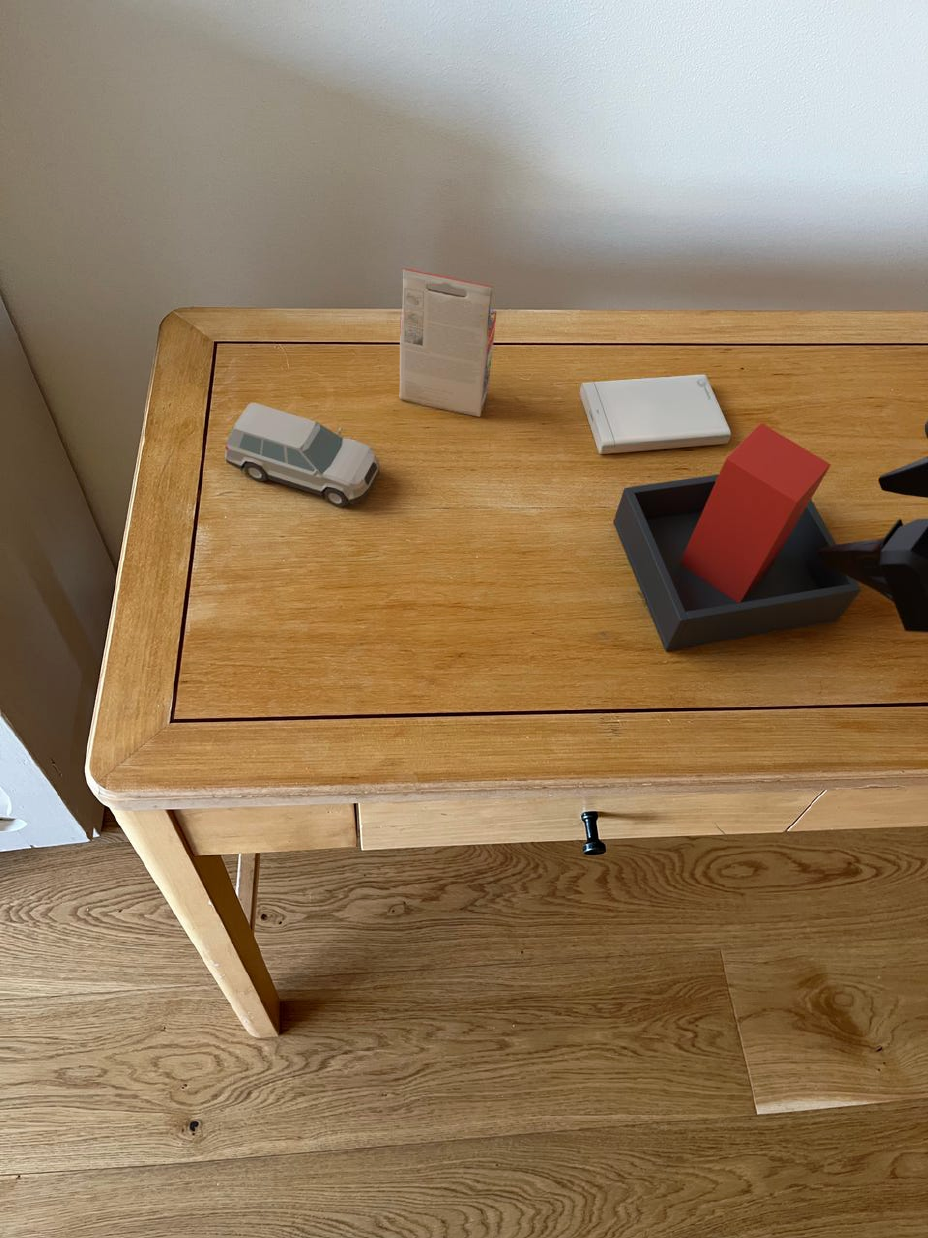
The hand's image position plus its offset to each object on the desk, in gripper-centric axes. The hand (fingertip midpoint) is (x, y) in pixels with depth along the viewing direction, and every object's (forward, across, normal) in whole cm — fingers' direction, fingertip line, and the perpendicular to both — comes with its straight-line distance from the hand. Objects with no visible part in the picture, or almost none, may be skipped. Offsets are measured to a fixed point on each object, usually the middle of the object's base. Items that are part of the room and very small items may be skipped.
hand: (851, 518), depth 66 cm
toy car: (+37, +17, -19) cm, 45 cm away
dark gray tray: (+13, 0, +4) cm, 14 cm away
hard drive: (+24, -11, -6) cm, 27 cm away
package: (+13, 0, +4) cm, 14 cm away
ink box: (+35, +1, -17) cm, 39 cm away
